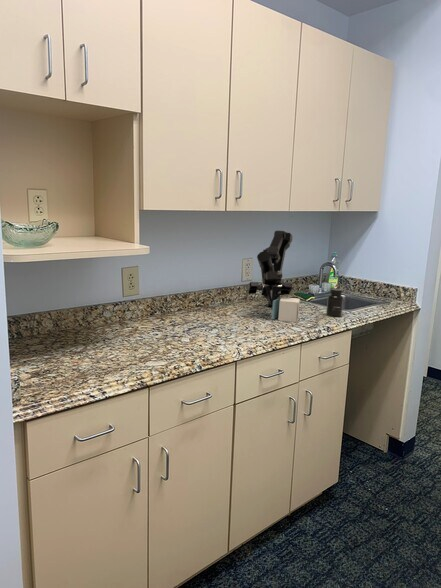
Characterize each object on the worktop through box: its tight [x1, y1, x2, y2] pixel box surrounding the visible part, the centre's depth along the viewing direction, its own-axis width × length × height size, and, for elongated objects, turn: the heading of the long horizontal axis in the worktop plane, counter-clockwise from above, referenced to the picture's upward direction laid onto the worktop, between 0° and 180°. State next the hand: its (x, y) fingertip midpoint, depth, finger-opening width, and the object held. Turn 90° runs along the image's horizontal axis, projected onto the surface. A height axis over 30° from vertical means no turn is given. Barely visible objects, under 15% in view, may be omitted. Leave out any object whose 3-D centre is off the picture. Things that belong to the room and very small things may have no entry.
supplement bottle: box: [325, 288, 344, 318], centre depth 207 cm, size 7×7×12 cm
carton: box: [277, 297, 301, 323], centre depth 196 cm, size 9×8×8 cm
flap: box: [271, 297, 282, 320], centre depth 197 cm, size 9×2×8 cm, turn 156°
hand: (271, 304), depth 194 cm, fingers closed
